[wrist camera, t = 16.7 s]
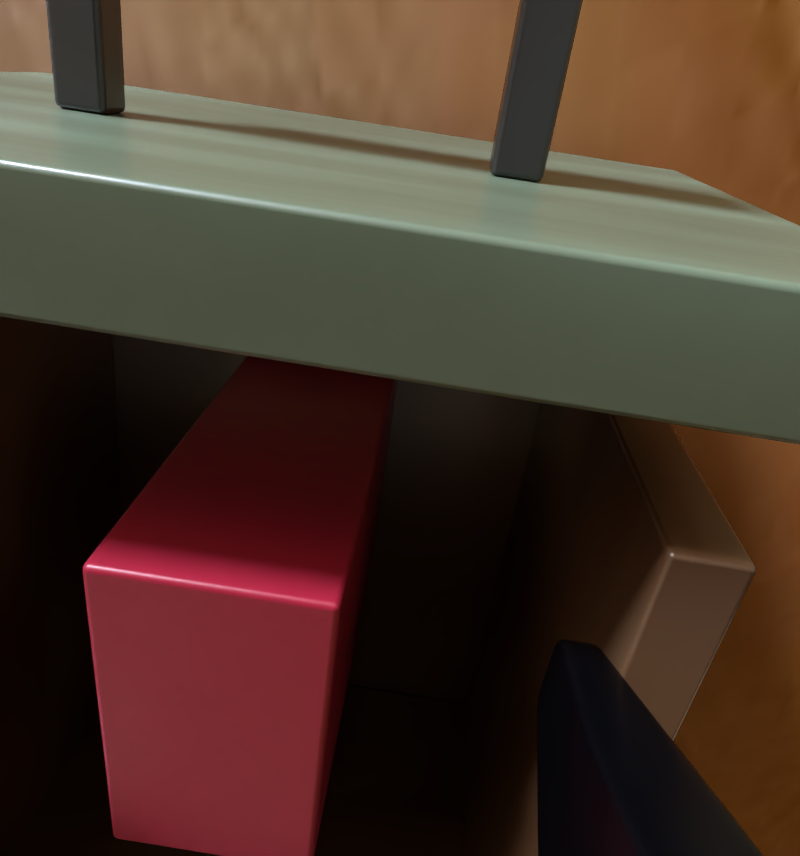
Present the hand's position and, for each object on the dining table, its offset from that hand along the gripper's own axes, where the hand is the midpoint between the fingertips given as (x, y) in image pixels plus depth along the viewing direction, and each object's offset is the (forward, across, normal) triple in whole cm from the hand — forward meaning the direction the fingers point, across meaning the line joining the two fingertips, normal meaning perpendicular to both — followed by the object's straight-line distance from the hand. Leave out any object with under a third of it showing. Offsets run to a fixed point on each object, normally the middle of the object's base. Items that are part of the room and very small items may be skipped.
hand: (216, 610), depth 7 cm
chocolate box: (+6, 0, +1) cm, 7 cm away
